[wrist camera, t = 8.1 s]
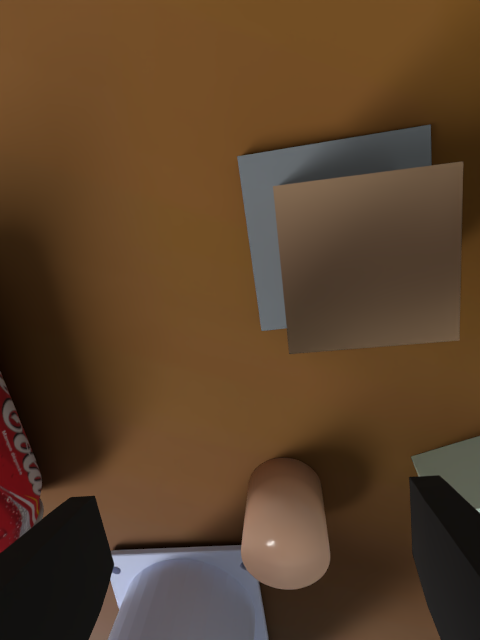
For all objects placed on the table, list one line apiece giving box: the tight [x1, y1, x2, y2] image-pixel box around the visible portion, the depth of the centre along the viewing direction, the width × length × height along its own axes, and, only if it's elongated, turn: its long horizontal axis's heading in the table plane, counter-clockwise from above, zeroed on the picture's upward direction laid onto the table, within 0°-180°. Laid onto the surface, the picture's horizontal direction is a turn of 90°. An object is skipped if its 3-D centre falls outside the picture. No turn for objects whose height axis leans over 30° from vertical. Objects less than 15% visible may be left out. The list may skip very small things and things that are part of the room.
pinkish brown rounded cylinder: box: [241, 458, 330, 590], centre depth 19 cm, size 4×4×4 cm
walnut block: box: [273, 161, 463, 354], centre depth 14 cm, size 4×4×6 cm
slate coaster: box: [237, 125, 431, 331], centre depth 17 cm, size 7×7×1 cm
